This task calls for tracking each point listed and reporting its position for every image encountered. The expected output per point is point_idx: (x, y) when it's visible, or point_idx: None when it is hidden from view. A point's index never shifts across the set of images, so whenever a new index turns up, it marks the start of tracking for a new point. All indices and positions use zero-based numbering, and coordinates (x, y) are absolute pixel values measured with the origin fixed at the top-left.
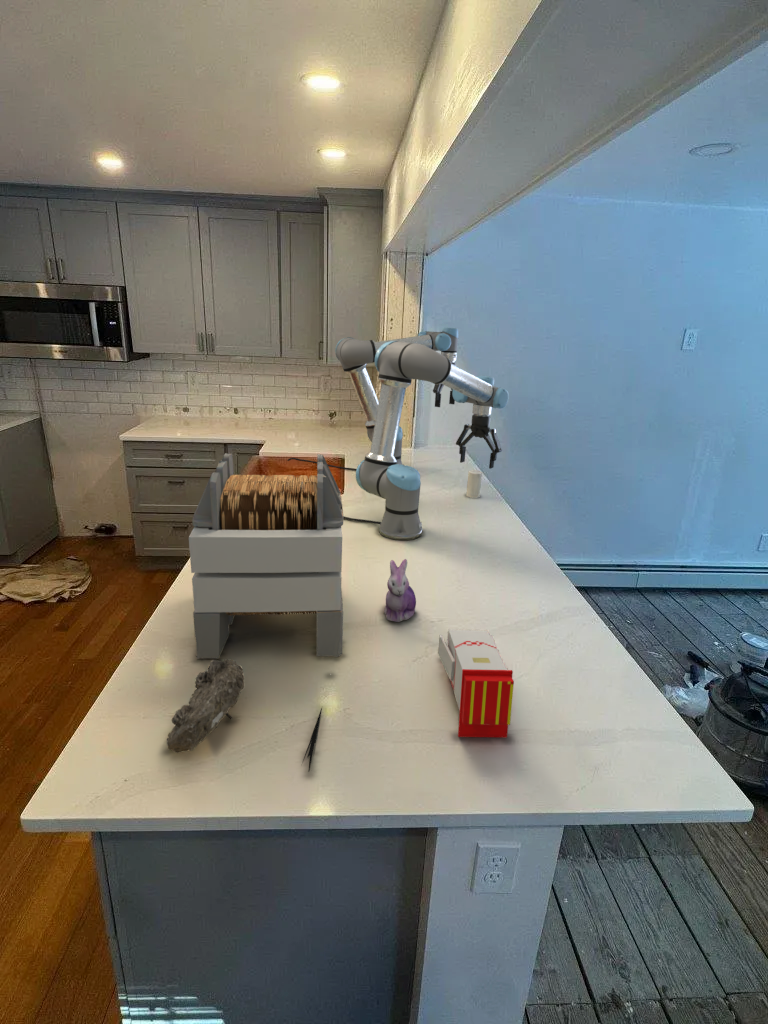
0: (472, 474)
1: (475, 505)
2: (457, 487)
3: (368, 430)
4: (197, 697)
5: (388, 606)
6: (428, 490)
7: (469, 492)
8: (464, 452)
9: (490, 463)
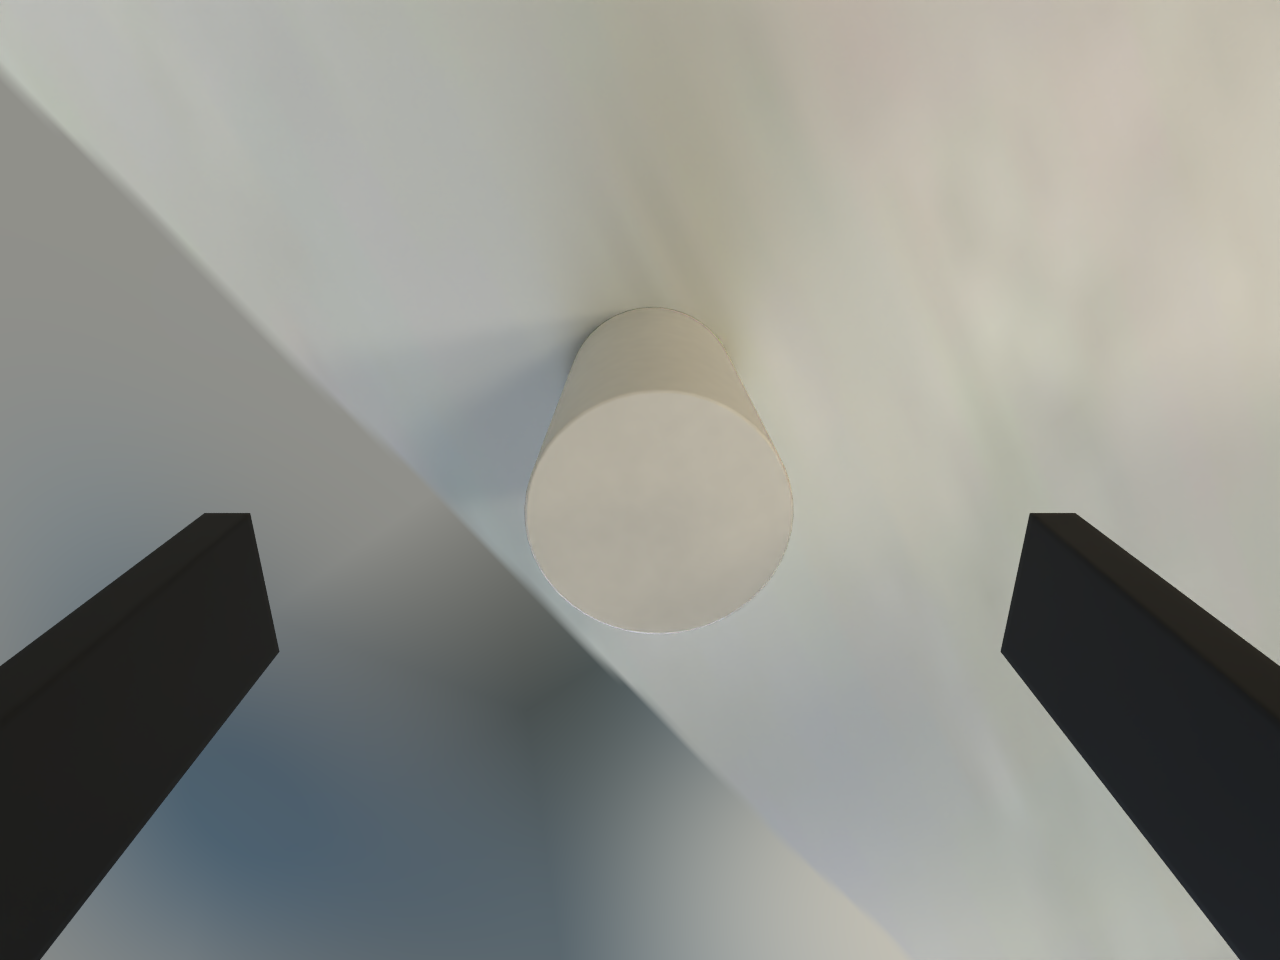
0: (649, 382)
1: (427, 39)
2: (941, 553)
3: None
4: None
5: None
6: (1237, 184)
7: (665, 318)
8: (1166, 786)
9: (144, 579)
